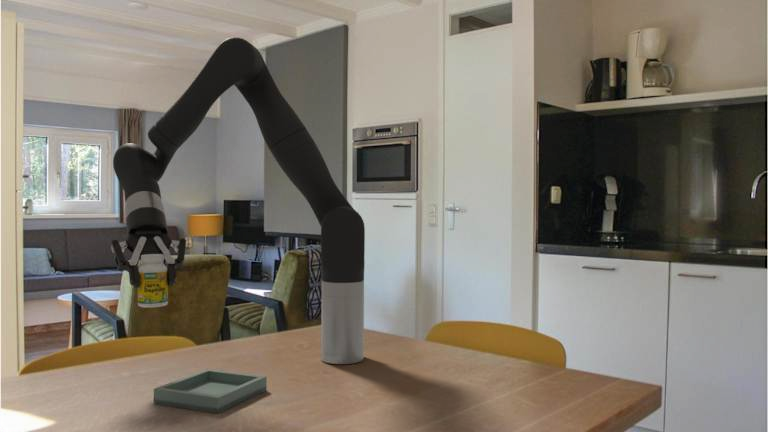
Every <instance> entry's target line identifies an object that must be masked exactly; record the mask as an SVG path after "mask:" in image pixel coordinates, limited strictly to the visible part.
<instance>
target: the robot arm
mask: <svg viewBox="0 0 768 432" xmlns="http://www.w3.org/2000/svg"><path fill="white" fill-rule="evenodd" d="M233 86H235V87H236V89H237V90H238V91H239V92H240V94H241V95H242V97H243V98H244V99H245V101H246V102H247V104H248V105H249V107H250V108H251V109H252V112H253V114H254V117H255V119H256V122H257V125H258V127H259V129H260V130H259V131H260V134H261V135H262V138H263V140H264V142H265V144H266V146H267V148H268V149H269V151H270V153H271V154H272V156H273V157H274V159H275V161H276V162H277V164H278V165H279V167H280V169H281V170H282V171H283V173H284V174H285V175H286V176H287V178H288V179H289V180H290V182H291V183H292V184H293V185H294V186H295V188H296V189H297V190H298V192H300V193H301V194H302V195H303V197H304V198H305V200H306V201H307V203H308V204H309V206H310V208H311V209H312V212H313V213H314V216H315V217H316V220H317V221H318V223H319V226H320V271H321V273H320V274H321V331H320V332H321V334H320V335H321V339H320V340H321V343H320V346H321V347H320V349H321V350H320V351H321V352H320V353H321V354H320V357H321V358H320V359H321V361H322V362H323V363H326V364H327V363H328V364H333V365H351V364H356V363H361V362H363V361H364V359H365V358H364V356H365V353H364V351H365V350H364V349H365V344H364V343H365V251H366V250H365V249H366V248H365V245H366V243H365V239H366V237H365V235H366V233H365V230H366V227H365V222H364V220H363V218H362V216H361V214H360V213H359V212H358V211H356V209H354V207H353V206H352V204H351V203H350V202H349V201H348V199H347V198H346V197H345V196H344V194H343V193H342V192H341V190H340V189H339V187H338V186H337V184H336V182H335V180H334V178H333V177H332V175H331V173H330V170H329V168H328V165H327V164H326V161H325V159H324V157H323V156H322V153H321V151H320V149H319V147H318V146H317V144H316V142H315V140H314V139H313V137H312V135H311V134H310V132H309V131H308V129H307V128H306V126H305V124H304V123H303V122H302V120H301V119H300V117H299V115H298V114H297V113H296V112H295V110H294V109H293V108H292V106H291V105H290V104H289V103H288V101H287V100H286V99H285V97H284V96H283V94H282V92H280V89H278V86H277V85H276V82H275V80H274V78H273V76H272V75H271V73H270V70H269V68H268V66H267V63H266V62H265V60H264V57H263V56H262V54H261V52H260V50H259V49H258V48H257V47H256V46H254V44H252V43H251V42H249V41H248V40H247V39H244V38H241V37H236V36H235V37H229V38H226V39H224V40H223V41H221V42H220V44H219V45H218V46H217V47H216V48H215V50H214V51H213V52H212V54H211V56H210V57H209V58H208V60H207V61H206V63H205V64H204V66H203V68H202V69H201V70H200V72H199V73H198V74H197V76H196V78H195V79H194V80H193V81H192V83H191V84H190V85H189V86H188V88H187V89H186V90H185V91H184V92H183V93H182V95H180V97H179V98H178V99H177V100H176V101H175V102H174V103H173V105H171V107H169V108H168V110H166V111H165V113H164V114H163V115H162V116H161V117H160V118H159V119H158V120H156V122H155V123H154V124H153V125H152V126H151V127H150V128H149V130H148V132H147V138H148V140H149V141H150V142H151V143H152V145H154V146H155V147H156V150H155V151H154V152H153V153H152V152H149V150H146V149H144V148H143V147H141V146H140V145H139V144H136V143H131V142H129V143H128V142H127V143H124V144H122V145H120V146H119V147H118V148H117V149H116V151H115V153H114V156H113V160H112V166H113V169H114V174H115V176H116V178H117V180H118V182H119V184H120V186H121V189H122V190H123V192H124V200H125V201H124V202H125V208H124V216H125V217H124V220H125V221H124V222H125V224H126V225H125V226H126V235H127V238H126V239H125V240H124V241H119V240H117V239H113V240H111V246H110V247H111V248H110V252H111V254H112V255H111V256H112V257H113V260H114V262H115V265H116V267H117V268H116V269H117V270H118V271H119V272H125V271H126V272H127V273H128V277H129V284H130V286H133V288H134V289H138V287H139V275H138V268H139V267H140V263H142V262H141V255H145V254H163V255H164V261H163V262H162V265H165V266H166V267H167V269H168V287H173V286H174V284H176V281H177V271H176V270H177V269H178V270H181V269H183V266H184V261H185V255H186V253H185V252H186V245H187V240H186V238H179V240H175V239H174V240H172V238H171V237H170V236H169V232H168V225H167V217H166V213H165V212H166V211H165V205H164V204H163V202H162V195H161V190H160V189H161V188H160V185H159V183H158V182H159V181H160V180H161V179H162V177H163V176H164V174H165V172H166V169H167V168H168V166H169V164H170V162H171V161H172V159H173V157H174V155H175V154H176V152H177V151H178V149H179V148H181V147H182V145H184V143H185V142H186V141H187V140H188V139H189V138H190V137H191V136H192V135H193V134H194V133H195V131H196V130H197V129H198V128H199V126H200V125H201V123H202V122H203V121H204V119H205V117H206V116H207V114H208V112H209V111H210V109H211V108H212V106H213V105H214V103H215V102H216V101H217V100H218V99H219V98H220V97H221V96H222V95H223V94H224V93H226V92H227V90H229V89H230V88H231V87H233ZM171 248H173V250H174V252H175V253H177V255H176V256H177V257H176V259H175V258H173V256H172V255H171V252H170V249H171ZM125 249H126V250H127V251H129V252H130V253H132V256H131V258H130V261H128V260H126V258H125V256H124V255H125V254H124V252H125Z"/></svg>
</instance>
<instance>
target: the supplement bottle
mask: <svg viewBox="0 0 768 432" xmlns="http://www.w3.org/2000/svg"><path fill="white" fill-rule="evenodd" d="M163 261H164V255H163V254H145V255H141V262H140V263H141V264H142V265H139V266H138V275H139V287H138V288H137V305H138V307H139V308H144V309H145V308H160V307H165V306H167V305H168V304H169V286H168V269H167V267H166V266H165V265H162V262H163Z"/></svg>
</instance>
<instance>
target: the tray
mask: <svg viewBox="0 0 768 432" xmlns="http://www.w3.org/2000/svg"><path fill="white" fill-rule="evenodd" d="M267 377H268V376H266V375H259V374H258V375H257V374H251V373H250V374H249V373H240V372H235V371H234V372H233V371H226V370H218V369H209V368H207V369H204V370H201V371H199V372H196V373H194V374H190V375H187V376H185V377H182V378H180V379H179V378H178V379H175V380H174V381H171V382H168V383H166V384H163V385H160V386H158V387H155V388H153V405H160V406H166V407H167V406H168V407H174V408H180V409H187V410H192V411H197V412H198V411H199V412H206V413H210V414H211V413H213V414H220V413H223V412H224V411H226V410H228V409H230V408H232V407H235V406H237V405H238V404H241V403H243V402H245V401H247V400H249V399H251V398H253V397H256V396H257V395H259V394H262V393H264V392H266V391H267Z"/></svg>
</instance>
